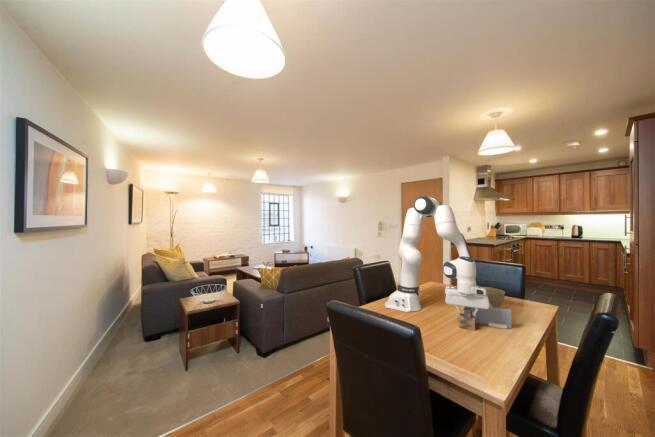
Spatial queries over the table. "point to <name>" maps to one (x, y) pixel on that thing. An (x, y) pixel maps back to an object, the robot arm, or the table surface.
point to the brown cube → (466, 320)
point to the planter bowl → (495, 296)
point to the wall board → (493, 317)
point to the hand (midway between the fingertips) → (466, 314)
